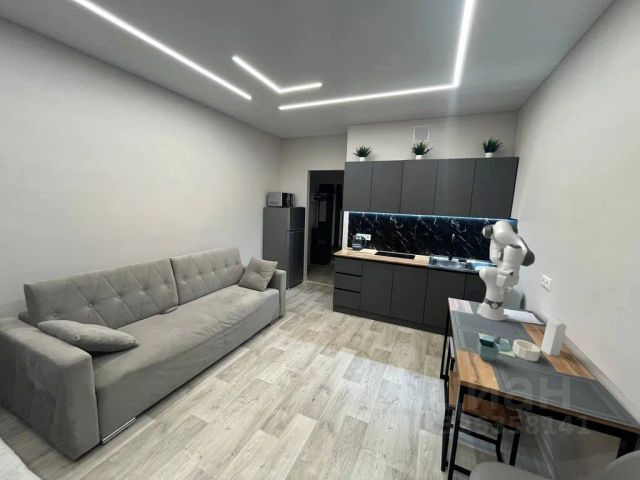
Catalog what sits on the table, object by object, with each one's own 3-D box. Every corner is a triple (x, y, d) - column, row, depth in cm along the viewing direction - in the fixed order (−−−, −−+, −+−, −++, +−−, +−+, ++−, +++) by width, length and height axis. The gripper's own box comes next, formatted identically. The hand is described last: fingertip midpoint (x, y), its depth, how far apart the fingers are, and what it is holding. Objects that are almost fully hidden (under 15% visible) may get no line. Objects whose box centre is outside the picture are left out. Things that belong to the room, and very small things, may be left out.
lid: (480, 335, 168) (481, 327, 167) (507, 341, 162) (509, 334, 161) (483, 346, 155) (484, 338, 154) (513, 354, 149) (515, 346, 148)
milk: (549, 349, 158) (558, 316, 154) (559, 355, 152) (568, 321, 148) (540, 349, 157) (548, 315, 154) (549, 355, 151) (558, 320, 148)
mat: (478, 333, 171) (478, 333, 171) (507, 341, 164) (507, 340, 164) (482, 349, 153) (483, 348, 153) (515, 357, 146) (515, 357, 146)
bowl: (510, 346, 158) (512, 337, 157) (534, 352, 153) (536, 343, 152) (515, 357, 147) (517, 347, 146) (541, 364, 142) (543, 354, 141)
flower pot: (496, 365, 138) (499, 350, 137) (478, 360, 141) (481, 345, 140) (492, 356, 146) (495, 341, 145) (474, 351, 149) (477, 337, 148)
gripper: (512, 268, 164) (508, 289, 166) (496, 270, 154) (492, 292, 156) (523, 271, 159) (519, 292, 161) (508, 273, 148) (503, 296, 150)
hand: (505, 292), depth 158 cm, fingers open, 8 cm apart
